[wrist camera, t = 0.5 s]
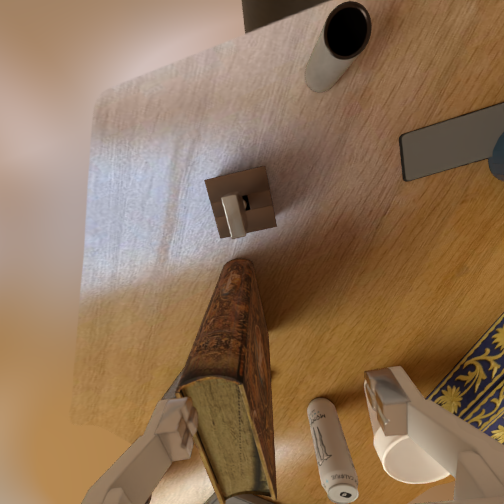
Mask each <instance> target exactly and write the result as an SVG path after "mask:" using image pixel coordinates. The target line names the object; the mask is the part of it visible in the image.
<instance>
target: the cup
mask: <svg viewBox="0 0 504 504" xmlns="http://www.w3.org/2000/svg"><path fill="white" fill-rule="evenodd" d="M366 383H367V381H366V380H365V382H364V390H365V395H366V400H367V405H368V409H369V414H370V419H371V424H372V429H373V434H374V447H375V449H376V451H377V453H378V456H379V458H380V460H381V462H382V465H383V468H384V470H385V471H386V472H387V473H388V474H389V476H391V477H393V478H394V479H396V480H398V481H401V482H405V483H412V484H423V483H430V482H434V481H437V480H440V479H443V478H445V477H447V476H448V475H450V473H449V472H448V471H447V470H446V469H444V468H443V467H442V466H441V465H440V464H439V463H438V462H437V461H436V460H434V459H433V458H432V457H431V456H430V455H429V454H428V453H427V452H425V451H424V450H423V449H422V448H421V447H420V446H419V445H418V444H416V443H415V442H414V441H413V440H412V439H411V438H410V437H409V436H408V435H396V436H385V434H384V432H383V430H382V428H381V426H380V424H379V422H378V420H377V412H376V411H374V410H373V409H372V407H371V405H370V402H369V400H368V397H367V393H366V387H365V385H366Z"/></svg>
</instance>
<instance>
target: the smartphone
mask: <svg viewBox="0 0 504 504" xmlns="http://www.w3.org/2000/svg"><path fill="white" fill-rule="evenodd" d="M503 132H504V102H503V103H500V104H496V105H493V106H490V107H487V108H484V109H481V110H478V111H474V112H471V113H468V114H465V115H462V116H459V117H456V118H452V119H449V120H446V121H443V122H440V123H437V124H433V125H430V126H427V127H424V128H421V129H418V130H415V131H411V132H408V133H405V134H402V135H401V136H400V137H399V146H400V155H401V165H402V174H403V180H404V181H411V180H415V179H418V178H421V177H425V176H428V175H432V174H435V173H439V172H442V171H445V170H449V169H452V168H456V167H459V166H464V165H467V164H469V163H473V162H478V161H481V160H484V159H488V158H490V157H492V153H493V149H494V147H495V145H496V143H497V140H498V138H499V137H500V136H501V135H502V134H503Z"/></svg>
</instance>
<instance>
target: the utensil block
mask: <svg viewBox="0 0 504 504" xmlns="http://www.w3.org/2000/svg"><path fill="white" fill-rule="evenodd" d="M204 181H205V184H206V188H207V192H208V195H209V199H210V203H211V206H212V210H213V213H214V217H215V221H216V224H217V228H218V232H219V235H220V238H225V237H230V236H231V234H230V230H229V226H228V222H227V218H226V214H225V210H224V207H223V203H222V199H221V198H222V197H224V196H225V195H226V194H228V193H230V192H234V191H238V190H241V193H242V196H244V195H247V196H248V200H249V204H247V206H246V208H245V211H246V215H247V219H248V228H247V233H249V232H254V231H258V230H263V229H268V228H273V227H277V225H276V219H275V214H274V209H273V204H272V199H271V194H270V188H269V183H268V178H267V173H266V168H265V166H261V167H257V168H253V169H249V170H245V171H240V172H236V173H232V174H228V175H224V176H219V177H215V178H211V179H207V180H204Z"/></svg>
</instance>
